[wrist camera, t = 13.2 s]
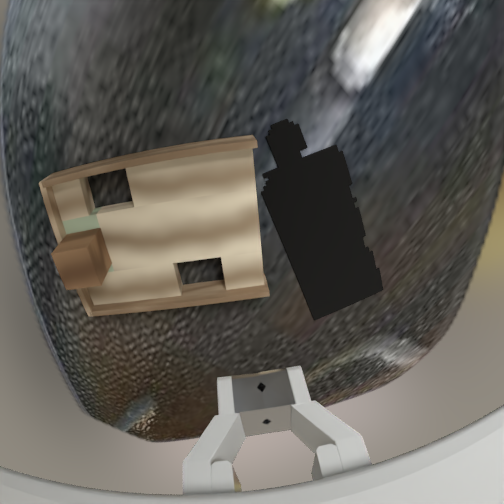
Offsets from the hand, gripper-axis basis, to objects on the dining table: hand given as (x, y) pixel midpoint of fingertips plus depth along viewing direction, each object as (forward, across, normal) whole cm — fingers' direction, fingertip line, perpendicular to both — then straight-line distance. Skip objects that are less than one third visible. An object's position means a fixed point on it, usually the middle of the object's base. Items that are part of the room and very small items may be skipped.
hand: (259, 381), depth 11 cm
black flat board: (+30, -12, +9) cm, 33 cm away
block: (+27, +18, +6) cm, 33 cm away
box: (+29, +9, +6) cm, 31 cm away
